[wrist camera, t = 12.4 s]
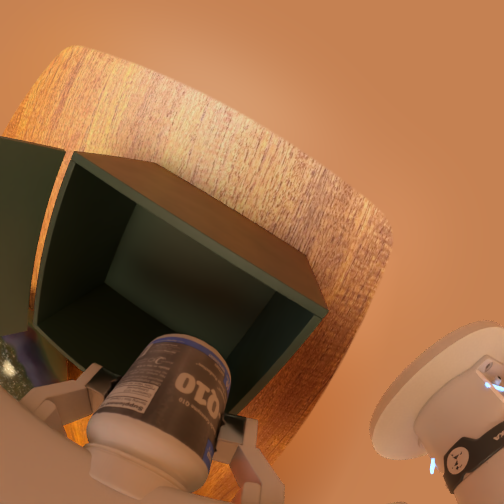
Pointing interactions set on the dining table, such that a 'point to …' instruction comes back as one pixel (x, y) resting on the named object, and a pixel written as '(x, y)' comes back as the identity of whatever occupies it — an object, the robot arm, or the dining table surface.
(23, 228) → the dark green box lid
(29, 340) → the vase
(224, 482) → the dining table surface
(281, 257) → the open box
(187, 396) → the pill bottle
